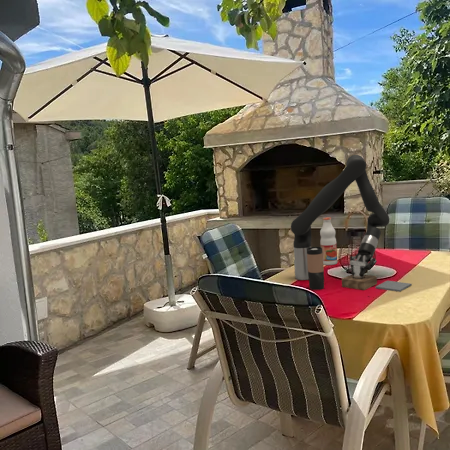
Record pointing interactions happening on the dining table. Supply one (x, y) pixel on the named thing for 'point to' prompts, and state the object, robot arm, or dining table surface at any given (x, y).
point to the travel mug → (315, 268)
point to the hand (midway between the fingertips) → (356, 275)
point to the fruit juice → (328, 242)
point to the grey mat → (393, 286)
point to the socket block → (359, 282)
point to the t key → (357, 268)
